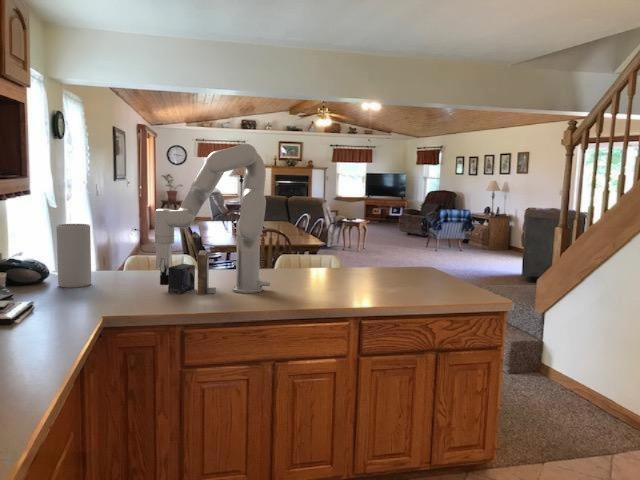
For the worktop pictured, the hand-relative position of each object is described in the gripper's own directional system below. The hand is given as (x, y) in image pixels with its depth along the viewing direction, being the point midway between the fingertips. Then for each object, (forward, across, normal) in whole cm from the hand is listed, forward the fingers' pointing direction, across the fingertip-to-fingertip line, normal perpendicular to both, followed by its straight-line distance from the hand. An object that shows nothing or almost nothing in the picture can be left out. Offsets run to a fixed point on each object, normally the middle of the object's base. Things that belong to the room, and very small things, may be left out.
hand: (164, 284), depth 205 cm
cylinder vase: (+3, -12, -38) cm, 40 cm away
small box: (+3, 0, +7) cm, 7 cm away
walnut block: (+3, 0, +15) cm, 15 cm away
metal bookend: (+3, 0, +18) cm, 19 cm away
